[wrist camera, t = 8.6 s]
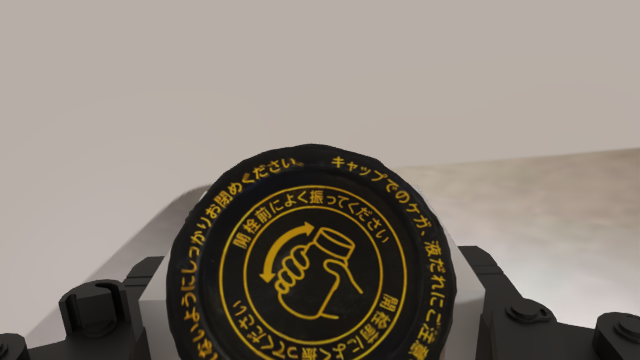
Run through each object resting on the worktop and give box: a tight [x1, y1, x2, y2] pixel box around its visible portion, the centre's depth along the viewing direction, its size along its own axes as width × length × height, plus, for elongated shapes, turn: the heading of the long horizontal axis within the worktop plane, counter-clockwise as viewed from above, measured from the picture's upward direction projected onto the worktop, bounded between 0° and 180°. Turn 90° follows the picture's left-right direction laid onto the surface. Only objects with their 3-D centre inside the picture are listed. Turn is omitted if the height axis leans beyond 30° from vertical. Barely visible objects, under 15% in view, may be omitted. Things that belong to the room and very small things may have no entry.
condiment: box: [165, 144, 457, 360], centre depth 13 cm, size 7×8×12 cm
